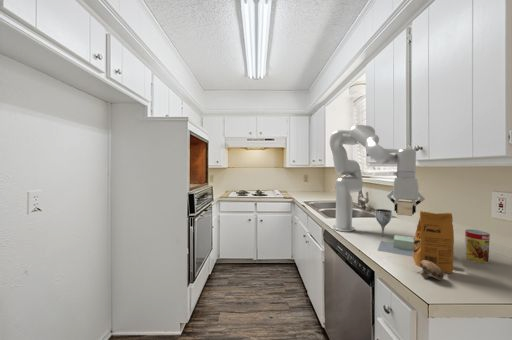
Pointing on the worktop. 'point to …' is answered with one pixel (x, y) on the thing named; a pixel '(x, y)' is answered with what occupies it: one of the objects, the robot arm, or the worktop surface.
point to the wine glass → (383, 217)
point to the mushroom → (430, 270)
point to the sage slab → (403, 242)
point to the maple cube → (404, 208)
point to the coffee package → (435, 240)
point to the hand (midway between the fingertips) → (404, 213)
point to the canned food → (477, 246)
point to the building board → (393, 249)
